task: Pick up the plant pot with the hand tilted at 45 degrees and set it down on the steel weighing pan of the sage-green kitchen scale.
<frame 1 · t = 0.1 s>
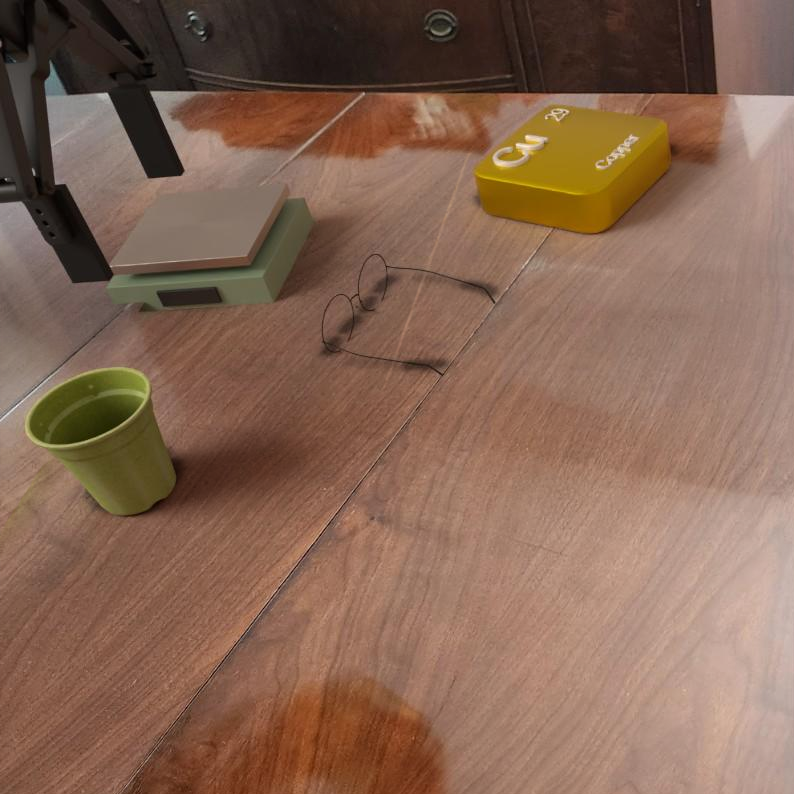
hand: (132, 224, 79), 19 cm above the table, tool pointing down, fingers open, 13 cm apart
scale: (220, 268, 111), on the table
plant pot: (141, 491, 89), on the table
eyeglasses: (414, 334, 99), on the table
weighing pan: (202, 228, 108), point 4 cm above the table, slide at 0.2 cm, touching scale
element tile: (577, 188, 111), on the table
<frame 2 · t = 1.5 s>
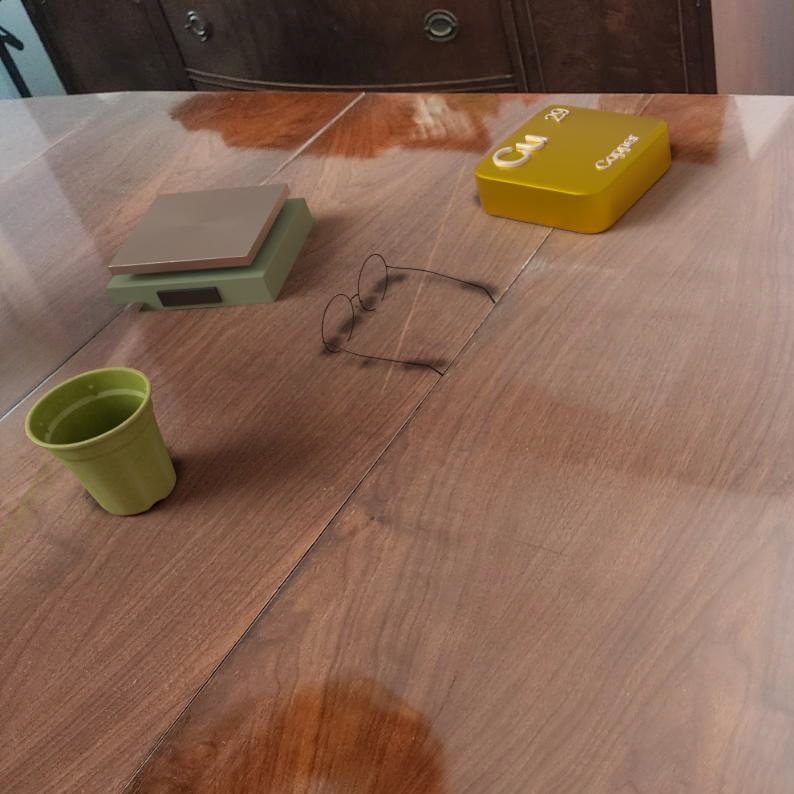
nothing on the table moved.
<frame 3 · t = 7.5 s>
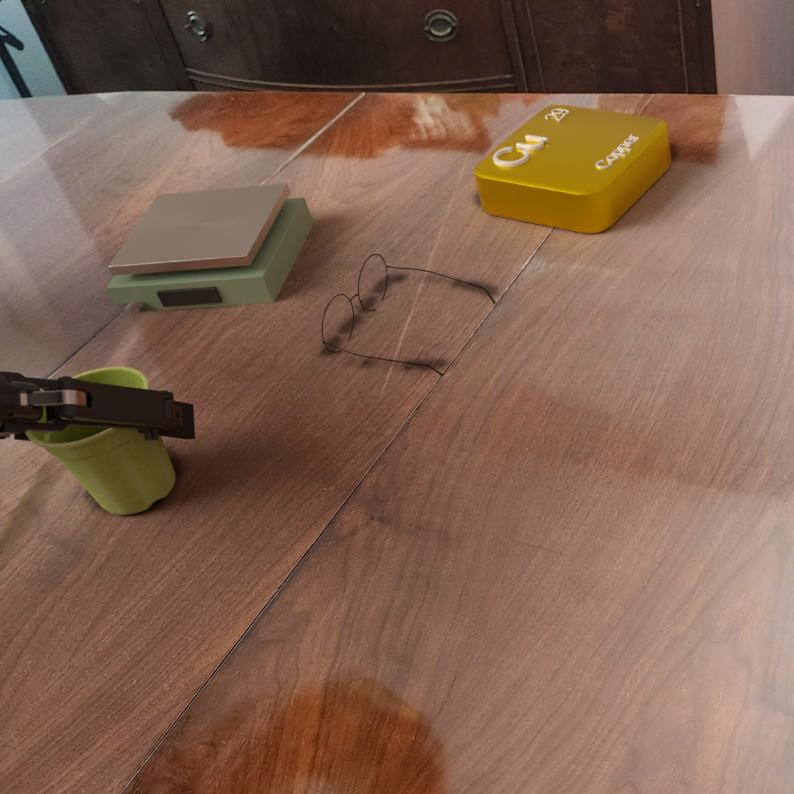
hand: (131, 425, 88), 4 cm above the table, tool tilted 45°, fingers closed on plant pot, 9 cm apart
plant pot: (141, 491, 89), on the table, touching gripper
everything else where it was.
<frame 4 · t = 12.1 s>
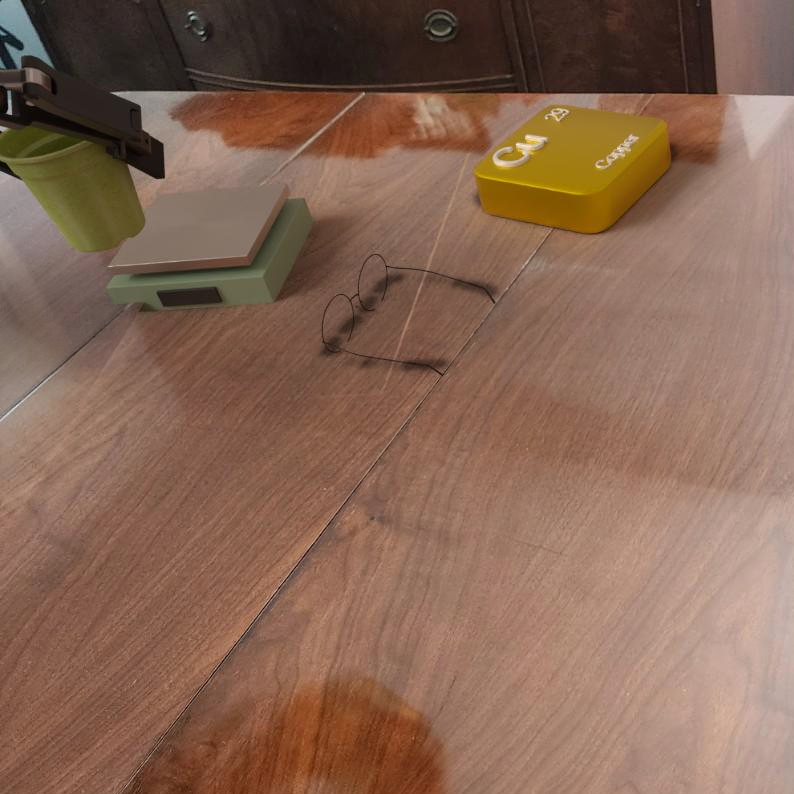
hand: (101, 166, 89), 18 cm above the table, tool tilted 45°, fingers closed on plant pot, 9 cm apart
plant pot: (110, 235, 90), point 14 cm above the table, touching gripper
everything else where it was.
when the fingers open (9 cm above the table, at t = 17.2 s): plant pot stays where it is, resting on weighing pan.
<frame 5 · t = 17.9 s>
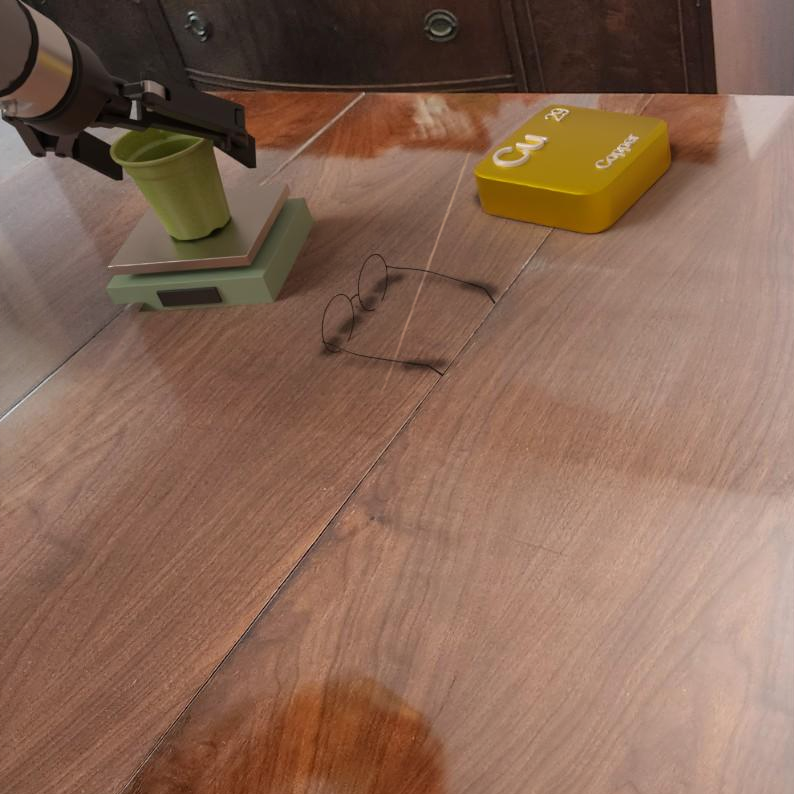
hand: (185, 160, 105), 10 cm above the table, tool tilted 45°, fingers open, 13 cm apart
plant pot: (201, 226, 107), point 5 cm above the table, touching weighing pan
weighing pan: (202, 228, 108), point 4 cm above the table, slide at 0.2 cm, touching plant pot, scale
everything else where it was.
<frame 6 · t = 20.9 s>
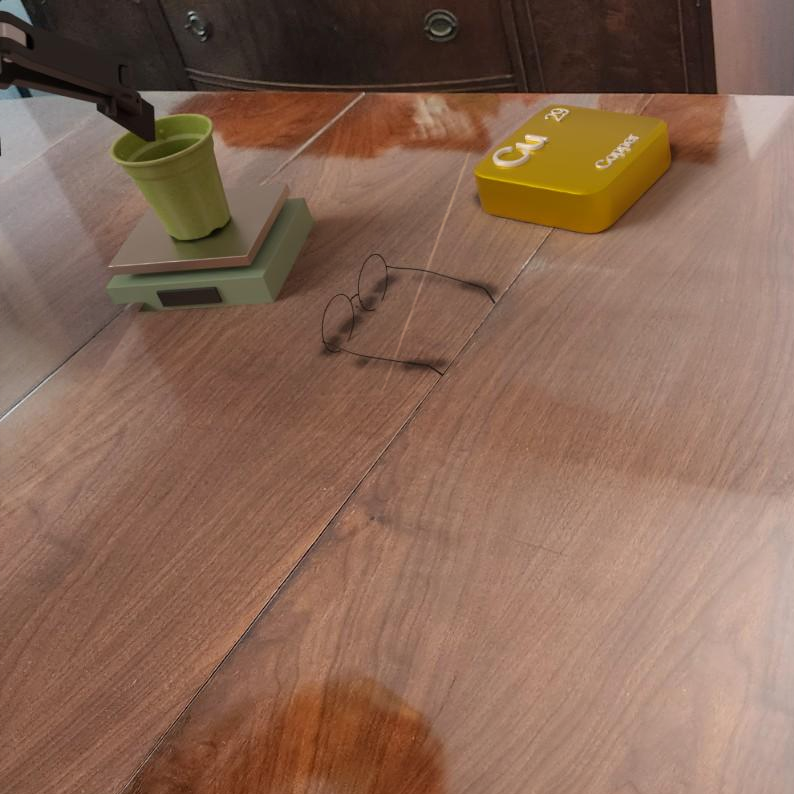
hand: (72, 132, 89), 20 cm above the table, tool tilted 45°, fingers open, 13 cm apart
nothing on the table moved.
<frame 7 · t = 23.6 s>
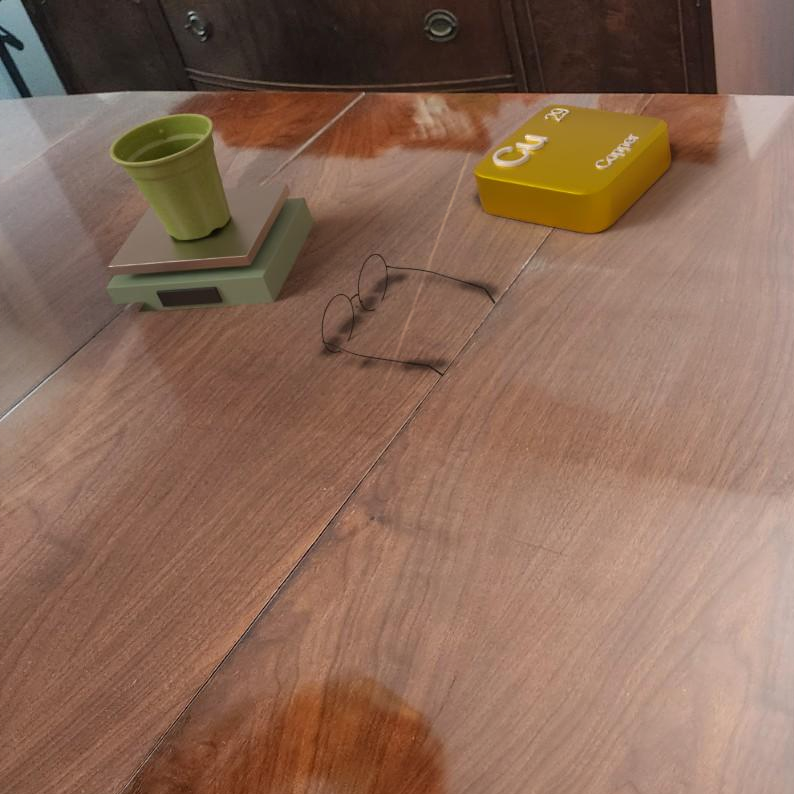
nothing on the table moved.
at the end: plant pot inside the target area on the scale (0.2 cm from its centre), point 4.7 cm above the scale's base; plant pot tilted 0°; the gripper is holding nothing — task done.
